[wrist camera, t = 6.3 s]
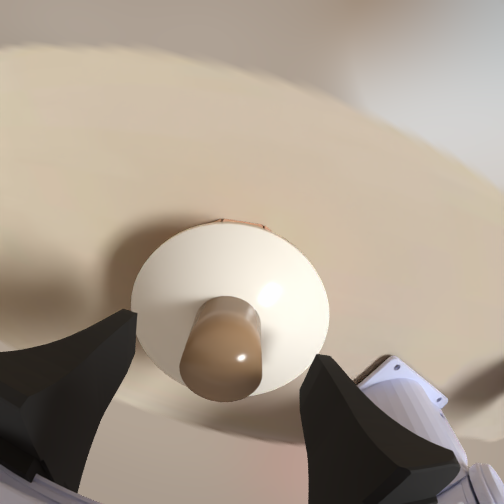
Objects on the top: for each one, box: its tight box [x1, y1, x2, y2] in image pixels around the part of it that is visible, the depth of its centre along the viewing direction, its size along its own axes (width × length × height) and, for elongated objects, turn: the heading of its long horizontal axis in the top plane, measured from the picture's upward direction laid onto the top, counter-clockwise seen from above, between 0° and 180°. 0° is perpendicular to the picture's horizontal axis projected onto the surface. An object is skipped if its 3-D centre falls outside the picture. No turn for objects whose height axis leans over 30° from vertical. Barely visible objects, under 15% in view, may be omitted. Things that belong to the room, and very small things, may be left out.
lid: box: [131, 222, 329, 402], centre depth 12 cm, size 9×9×4 cm
